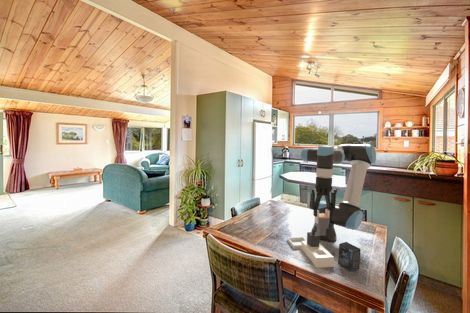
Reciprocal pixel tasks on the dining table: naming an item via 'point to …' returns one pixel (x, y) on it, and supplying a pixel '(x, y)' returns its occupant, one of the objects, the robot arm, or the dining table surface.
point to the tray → (295, 242)
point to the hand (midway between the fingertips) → (321, 222)
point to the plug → (322, 224)
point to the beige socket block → (318, 255)
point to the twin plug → (313, 238)
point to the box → (349, 256)
